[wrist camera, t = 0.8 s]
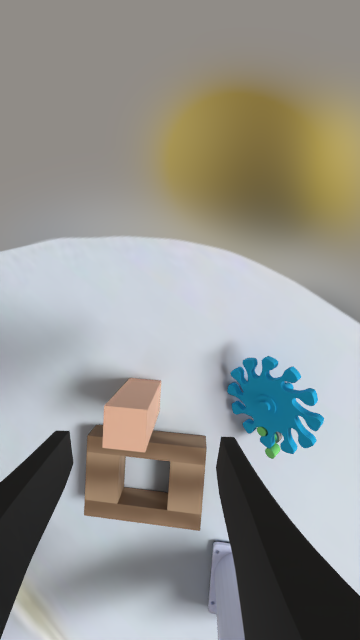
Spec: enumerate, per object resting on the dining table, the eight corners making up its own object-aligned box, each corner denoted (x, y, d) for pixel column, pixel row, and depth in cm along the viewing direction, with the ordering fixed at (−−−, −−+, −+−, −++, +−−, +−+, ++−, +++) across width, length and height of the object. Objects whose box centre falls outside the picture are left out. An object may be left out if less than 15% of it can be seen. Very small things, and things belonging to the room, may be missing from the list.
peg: (159, 411, 29) (145, 452, 21) (128, 408, 29) (102, 447, 21) (161, 380, 28) (147, 409, 20) (129, 377, 29) (104, 405, 21)
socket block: (199, 511, 29) (200, 530, 26) (93, 497, 30) (84, 515, 27) (205, 436, 28) (206, 448, 26) (96, 424, 29) (87, 435, 27)
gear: (223, 349, 26) (322, 376, 18) (252, 338, 30) (343, 356, 22) (224, 435, 28) (313, 489, 21) (250, 414, 32) (333, 454, 24)
